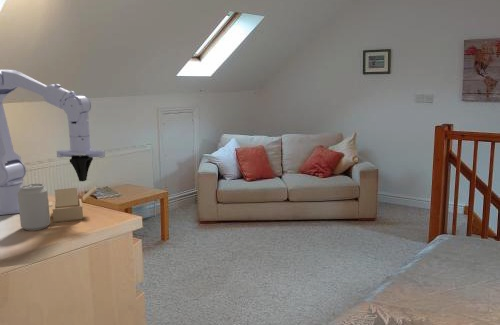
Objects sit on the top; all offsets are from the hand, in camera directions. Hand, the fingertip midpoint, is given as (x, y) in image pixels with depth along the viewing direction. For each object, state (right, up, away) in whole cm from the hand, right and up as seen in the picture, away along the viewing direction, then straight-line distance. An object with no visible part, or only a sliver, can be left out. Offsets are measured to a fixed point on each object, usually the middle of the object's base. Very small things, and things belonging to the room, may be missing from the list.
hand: (82, 180), depth 143 cm
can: (-9, -13, -12) cm, 19 cm away
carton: (-6, -11, 0) cm, 12 cm away
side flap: (+1, -4, +1) cm, 4 cm away
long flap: (-2, -5, -7) cm, 8 cm away
